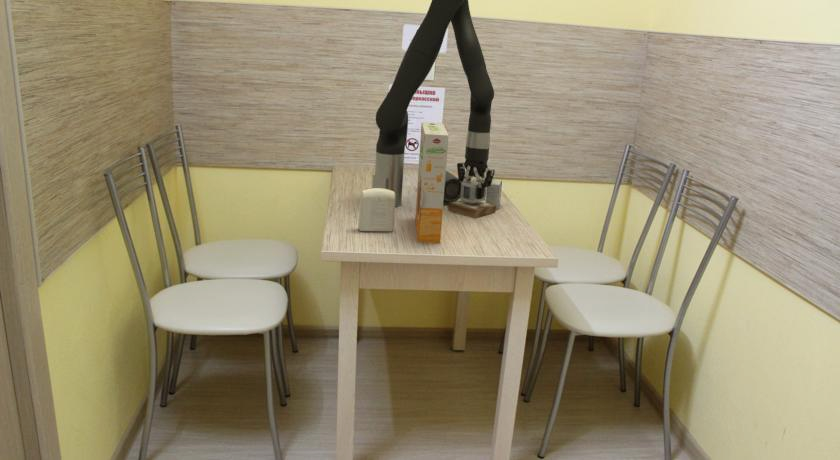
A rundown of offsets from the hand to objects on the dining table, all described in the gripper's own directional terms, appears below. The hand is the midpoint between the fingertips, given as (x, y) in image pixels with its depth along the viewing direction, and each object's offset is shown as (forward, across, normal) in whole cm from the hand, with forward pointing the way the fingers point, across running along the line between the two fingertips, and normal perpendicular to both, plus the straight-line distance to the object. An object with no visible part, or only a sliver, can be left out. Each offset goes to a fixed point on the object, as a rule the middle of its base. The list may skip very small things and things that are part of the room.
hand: (473, 196), depth 220 cm
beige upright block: (+5, -4, -40) cm, 41 cm away
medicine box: (+5, 0, +12) cm, 13 cm away
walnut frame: (+5, 0, 0) cm, 5 cm away
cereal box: (+5, +5, -28) cm, 29 cm away
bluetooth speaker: (+5, -19, +6) cm, 21 cm away
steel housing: (+1, 0, 0) cm, 1 cm away
